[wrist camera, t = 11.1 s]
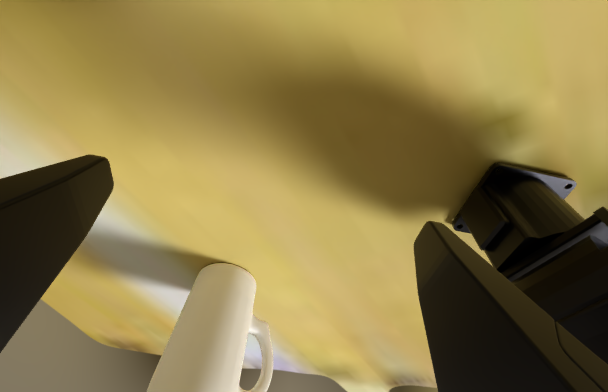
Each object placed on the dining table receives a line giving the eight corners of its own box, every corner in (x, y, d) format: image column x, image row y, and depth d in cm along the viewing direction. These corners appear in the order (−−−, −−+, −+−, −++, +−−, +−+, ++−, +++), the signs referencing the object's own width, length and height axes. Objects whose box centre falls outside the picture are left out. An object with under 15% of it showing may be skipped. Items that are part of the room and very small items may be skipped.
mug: (185, 284, 33) (128, 414, 23) (211, 250, 29) (157, 387, 20) (264, 317, 36) (243, 444, 26) (296, 291, 32) (285, 426, 23)
